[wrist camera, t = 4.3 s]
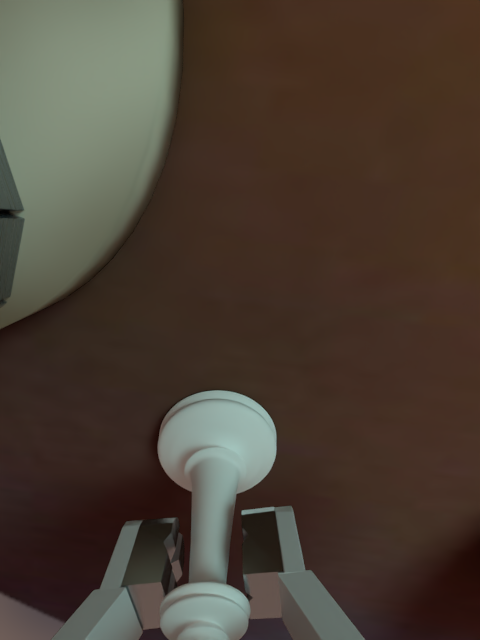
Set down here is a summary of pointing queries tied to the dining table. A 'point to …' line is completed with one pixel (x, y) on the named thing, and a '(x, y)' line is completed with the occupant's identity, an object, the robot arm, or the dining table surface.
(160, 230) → the dining table surface
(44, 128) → the carrier plate
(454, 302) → the dining table surface
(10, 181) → the socket collar
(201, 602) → the chess piece
